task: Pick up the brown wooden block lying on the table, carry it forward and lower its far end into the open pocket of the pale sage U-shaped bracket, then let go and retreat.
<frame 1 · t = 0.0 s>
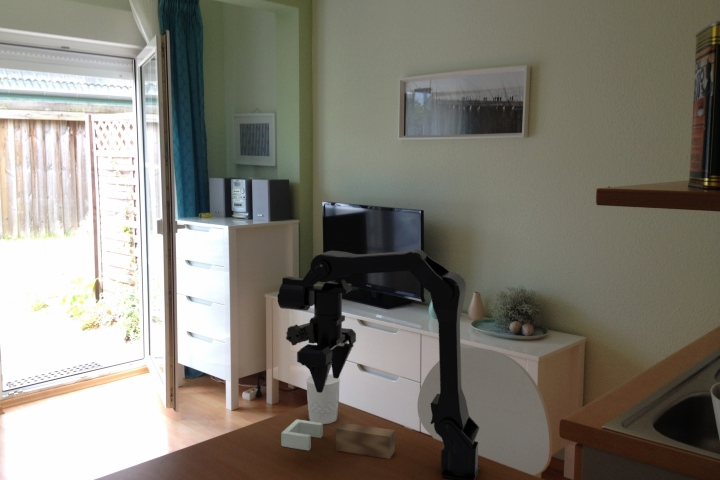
hand: (328, 385, 136), 15 cm above the table, tool pointing down, fingers open, 9 cm apart
brown wooden block: (365, 451, 138), on the table
bracket: (304, 441, 143), on the table
white cup: (323, 419, 155), on the table
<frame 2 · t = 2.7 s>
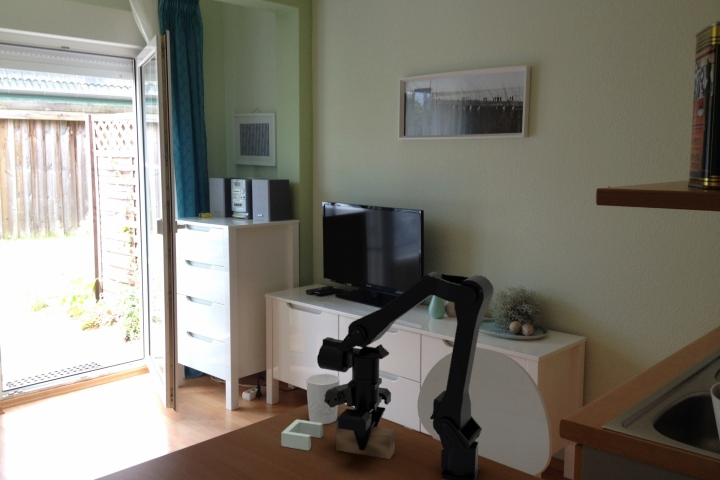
hand: (365, 446, 138), 1 cm above the table, tool pointing down, fingers closed on brown wooden block, 3 cm apart
brown wooden block: (365, 451, 138), on the table, touching gripper
everything else where it was.
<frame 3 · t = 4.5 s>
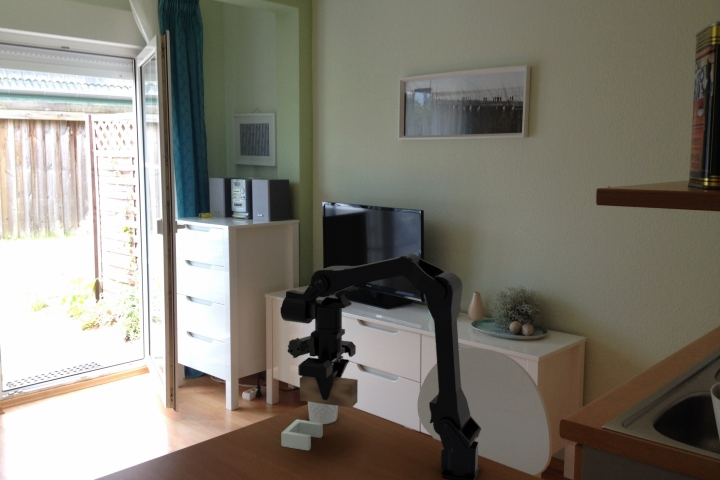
hand: (328, 396, 140), 11 cm above the table, tool pointing down, fingers closed on brown wooden block, 3 cm apart
brown wooden block: (328, 401, 140), point 10 cm above the table, touching gripper
everything else where it was.
when the fingers open (2 cm above the table, at t = 6.6 s): brown wooden block drops 2 cm, on the table.
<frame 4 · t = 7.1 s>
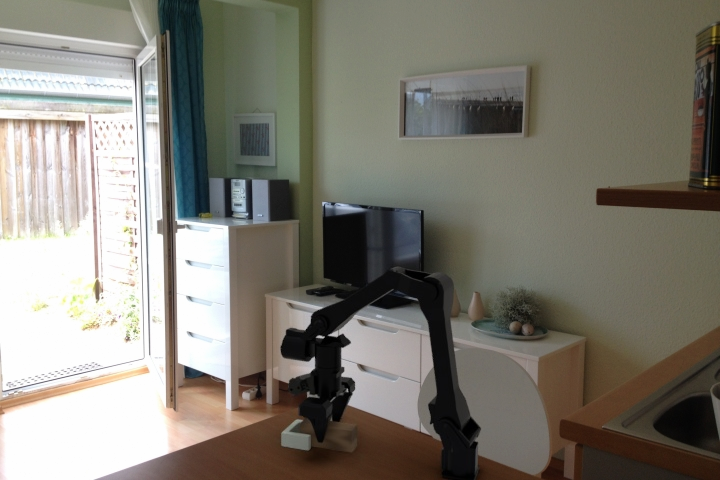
hand: (328, 434, 141), 2 cm above the table, tool pointing down, fingers open, 9 cm apart
brown wooden block: (328, 446, 141), on the table
everything else where it was.
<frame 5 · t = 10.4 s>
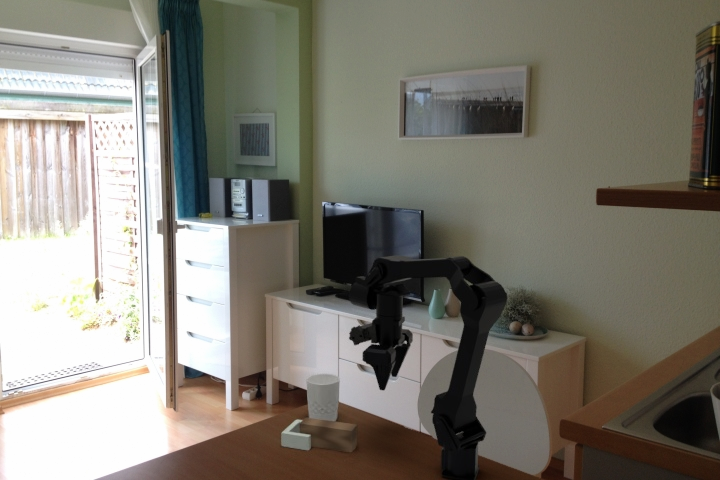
hand: (388, 383, 142), 13 cm above the table, tool pointing down, fingers open, 9 cm apart
nothing on the table moved.
at the end: brown wooden block 0.2 cm from the target spot on the table beside the bracket, on the table; the gripper is holding nothing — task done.
